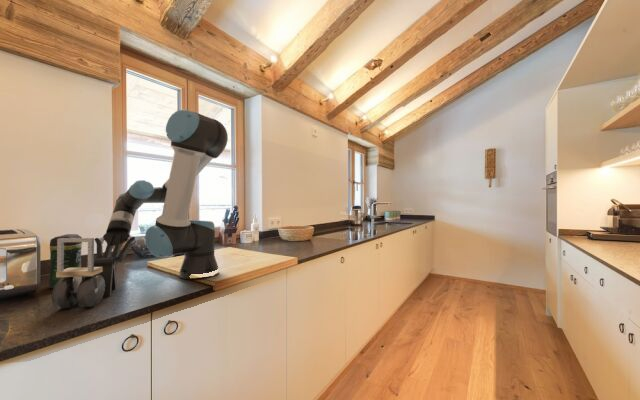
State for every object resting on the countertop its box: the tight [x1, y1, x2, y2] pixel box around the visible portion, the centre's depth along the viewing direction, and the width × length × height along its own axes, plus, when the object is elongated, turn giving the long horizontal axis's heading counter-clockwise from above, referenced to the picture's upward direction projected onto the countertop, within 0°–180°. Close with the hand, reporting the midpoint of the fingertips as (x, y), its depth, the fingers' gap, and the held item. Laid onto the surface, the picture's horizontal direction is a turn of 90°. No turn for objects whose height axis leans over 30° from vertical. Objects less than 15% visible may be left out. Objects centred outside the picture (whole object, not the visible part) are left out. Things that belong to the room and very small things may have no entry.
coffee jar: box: [48, 233, 83, 289], centre depth 100 cm, size 10×8×19 cm
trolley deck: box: [56, 266, 103, 277], centre depth 81 cm, size 9×5×2 cm, turn 101°
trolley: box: [51, 237, 105, 310], centre depth 81 cm, size 9×9×20 cm
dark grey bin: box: [94, 256, 117, 299], centre depth 92 cm, size 9×6×12 cm, turn 25°
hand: (104, 278), depth 94 cm, fingers closed
